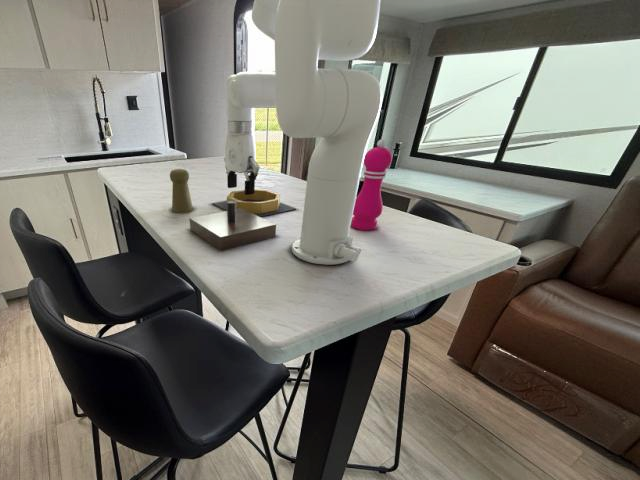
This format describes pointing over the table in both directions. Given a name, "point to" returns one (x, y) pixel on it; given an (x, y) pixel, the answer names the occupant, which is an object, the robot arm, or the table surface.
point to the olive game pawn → (180, 191)
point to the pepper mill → (371, 188)
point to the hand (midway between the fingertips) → (240, 190)
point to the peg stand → (232, 227)
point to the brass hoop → (256, 207)
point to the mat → (281, 207)
